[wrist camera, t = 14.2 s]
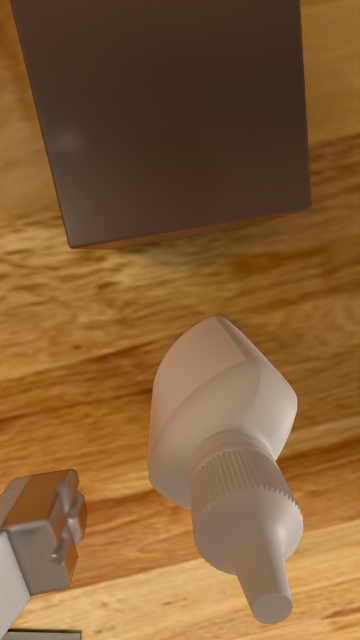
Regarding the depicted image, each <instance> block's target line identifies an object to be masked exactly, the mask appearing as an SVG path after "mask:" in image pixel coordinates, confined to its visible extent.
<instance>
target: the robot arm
mask: <svg viewBox="0 0 360 640" xmlns="http://www.w3.org/2000/svg"><path fill="white" fill-rule="evenodd" d="M78 484H79V479H78V476H77V473H76V471H75V470H74V469H67V470H60V471H54V472H47V473H41V474H35V475H29V476H24V477H18V478H15V479H13V480H11V481H10V482H9V484H8V485H7V487H6V488H5V490H4V491H3V493H2V494H1V496H0V640H1V638H2V637H3V636H4V634H5V633H6V632H7V630H8V629H9V628H10V626H11V625H12V624H13V622H14V621H15V620H16V618H17V617H18V616H19V614H20V613H21V612H22V610H23V609H24V608H25V606H26V605H27V604H28V602H29V601H30V600H31V596H33V595H38V594H42V593H47V592H51V591H56V590H61V589H65V588H70V585H71V581H72V577H73V574H74V570H75V567H76V563H77V559H78V554H77V551H76V548H75V547H76V546H77V545H78V544H79V543H80V541H81V540H82V539H83V537H84V533H85V529H86V522H87V509H86V502H85V499H84V496H83V495H82V494H81V493H80V492H78V491H77V487H78Z"/></svg>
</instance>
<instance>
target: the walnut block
mask: <svg viewBox="0 0 360 640" xmlns="http://www.w3.org/2000/svg"><path fill="white" fill-rule="evenodd" d="M10 3H11V7H12V11H13V15H14V19H15V24H16V28H17V32H18V36H19V40H20V44H21V49H22V53H23V57H24V61H25V65H26V69H27V73H28V78H29V82H30V86H31V90H32V94H33V98H34V102H35V107H36V111H37V115H38V119H39V123H40V127H41V132H42V136H43V140H44V144H45V148H46V152H47V156H48V161H49V165H50V169H51V173H52V177H53V181H54V185H55V190H56V194H57V198H58V202H59V206H60V210H61V215H62V219H63V223H64V227H65V231H66V235H67V239H68V244H69V247H70V248H71V249H101V250H115V249H121V248H127V247H133V246H139V245H145V244H151V243H157V242H163V241H169V240H175V239H181V238H187V237H193V236H199V235H205V234H211V233H218V232H224V231H230V230H236V229H242V228H247V227H250V226H254V225H257V224H261V223H264V222H268V221H271V220H275V219H278V218H282V217H285V216H289V215H292V214H296V213H299V212H302V211H306V210H309V209H311V189H310V171H309V154H308V136H307V118H306V100H305V82H304V64H303V46H302V29H301V11H300V0H10Z"/></svg>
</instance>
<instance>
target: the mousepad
mask: <svg viewBox="0 0 360 640" xmlns="http://www.w3.org/2000/svg"><path fill="white" fill-rule="evenodd" d="M1 640H80V633H36V632H6V633H5V634H4V636H3V637H2V638H1Z"/></svg>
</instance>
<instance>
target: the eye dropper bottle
mask: <svg viewBox="0 0 360 640" xmlns="http://www.w3.org/2000/svg"><path fill="white" fill-rule="evenodd" d="M296 412H297V396H296V394H295V392H294V390H293V389H292V387H291V386H290V384H289V383H288V382H287V381H286V380H285V378H284V377H283V376H282V375H281V374H280V373H279V372H278V371H277V369H276V368H275V367H274V366H273V365H272V364H271V363H270V362H269V361H268V360H267V359H266V358H265V357H264V355H263V354H262V353H261V352H260V351H259V350H258V349H257V348H256V347H255V346H254V345H253V344H252V343H251V342H250V341H249V340H248V338H247V337H246V336H245V335H244V334H243V333H242V332H241V331H240V330H239V329H237V328H236V327H235V326H234V325H233V324H232V323H230V322H229V321H228V320H227V319H225V318H224V317H222V316H220V315H216V316H211V317H209V318H206V319H204V320H202V321H201V322H199V323H197V324H196V325H194V326H193V327H191V328H190V329H188V330H187V331H186V332H185V333H183V334H182V335H181V336H180V337H179V338H178V339H177V340H176V341H175V342H174V344H173V345H172V346H171V347H170V349H169V350H168V351H167V353H166V355H165V356H164V358H163V360H162V362H161V364H160V366H159V368H158V370H157V373H156V376H155V379H154V383H153V394H152V405H151V418H150V431H149V444H148V464H147V465H148V475H149V480H150V482H151V484H152V485H153V487H154V488H155V489H156V490H157V491H158V492H159V493H160V494H161V495H163V496H164V497H165V498H167V499H168V500H170V501H171V502H173V503H174V504H176V505H178V506H179V507H181V508H183V509H187V510H190V511H191V513H192V523H193V533H194V541H195V545H196V546H197V550H198V551H199V553H200V554H201V555H202V557H203V558H204V559H205V561H206V562H208V563H209V564H210V565H211V566H213V567H215V568H216V569H218V570H220V571H222V572H225V573H228V574H231V575H237V577H238V579H239V582H240V584H241V587H242V589H243V591H244V594H245V596H246V599H247V601H248V604H249V606H250V608H251V611H252V613H253V615H254V617H255V619H256V620H258V621H259V622H261V623H264V624H275V623H279V622H281V621H283V620H285V619H286V618H287V617H288V616H289V615H290V613H291V611H292V608H293V605H292V600H291V595H290V589H289V584H288V579H287V574H286V569H285V564H284V562H285V561H286V560H287V559H288V558H289V557H290V556H291V555H292V554H293V552H294V551H295V550H296V548H297V546H298V544H299V542H300V539H301V537H302V533H303V527H304V526H303V522H304V521H303V516H302V512H301V510H300V507H299V505H298V503H297V502H296V500H295V498H294V496H293V494H292V492H291V490H290V488H289V486H288V484H287V483H286V481H285V479H284V477H283V475H282V473H281V471H280V469H279V467H278V465H277V464H276V462H275V461H276V460H277V458H278V456H279V454H280V453H281V451H282V449H283V447H284V445H285V443H286V441H287V438H288V436H289V433H290V431H291V428H292V425H293V422H294V419H295V415H296Z"/></svg>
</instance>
